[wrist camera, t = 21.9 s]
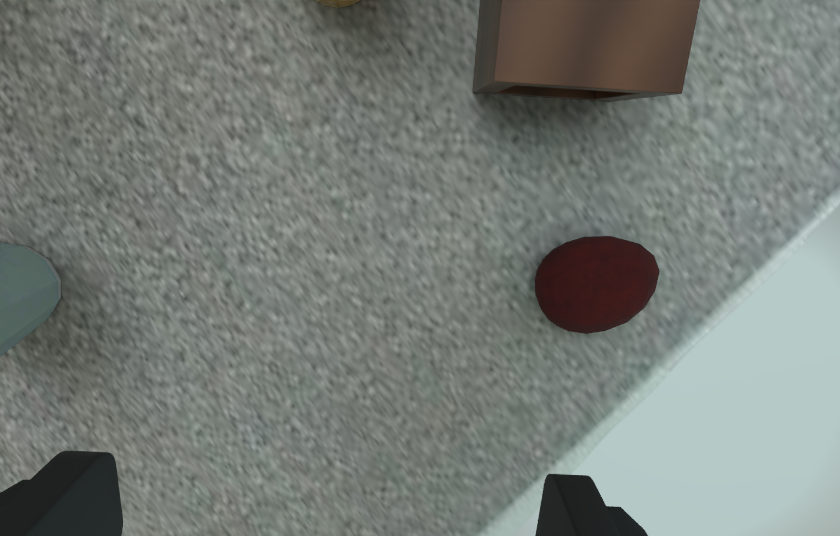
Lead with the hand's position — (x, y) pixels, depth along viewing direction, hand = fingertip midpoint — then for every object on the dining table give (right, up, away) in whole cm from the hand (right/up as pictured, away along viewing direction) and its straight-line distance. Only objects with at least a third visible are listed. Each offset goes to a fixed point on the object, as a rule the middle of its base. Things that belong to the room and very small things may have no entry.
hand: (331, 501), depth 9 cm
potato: (+15, +4, +30) cm, 34 cm away
